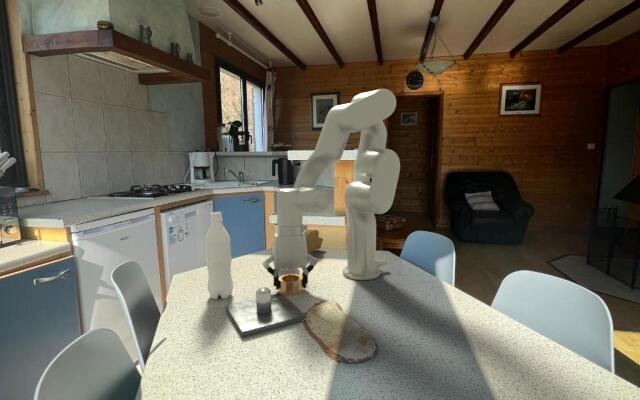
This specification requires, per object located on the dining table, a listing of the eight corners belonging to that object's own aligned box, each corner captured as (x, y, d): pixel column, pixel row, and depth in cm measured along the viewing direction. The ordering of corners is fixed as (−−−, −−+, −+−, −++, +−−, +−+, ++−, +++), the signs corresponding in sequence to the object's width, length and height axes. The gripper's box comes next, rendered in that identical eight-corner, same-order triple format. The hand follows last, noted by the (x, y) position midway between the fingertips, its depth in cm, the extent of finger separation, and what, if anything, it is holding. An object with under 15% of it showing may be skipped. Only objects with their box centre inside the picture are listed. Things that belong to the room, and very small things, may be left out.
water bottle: (226, 302, 99) (221, 215, 96) (203, 300, 101) (197, 214, 97) (237, 292, 106) (233, 210, 103) (215, 290, 108) (210, 210, 104)
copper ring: (296, 284, 111) (296, 272, 111) (306, 292, 105) (306, 279, 105) (275, 289, 108) (274, 276, 107) (284, 297, 102) (284, 284, 101)
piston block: (281, 297, 102) (280, 274, 101) (305, 320, 88) (304, 293, 87) (225, 310, 94) (224, 285, 93) (242, 338, 80) (241, 308, 79)
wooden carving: (314, 248, 152) (314, 225, 150) (323, 249, 149) (323, 226, 148) (292, 258, 138) (292, 233, 136) (302, 260, 135) (302, 235, 134)
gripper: (316, 226, 109) (317, 280, 111) (260, 228, 106) (261, 284, 108) (321, 231, 102) (321, 290, 104) (260, 234, 99) (261, 294, 101)
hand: (290, 286), depth 106 cm, fingers closed on copper ring, 7 cm apart
